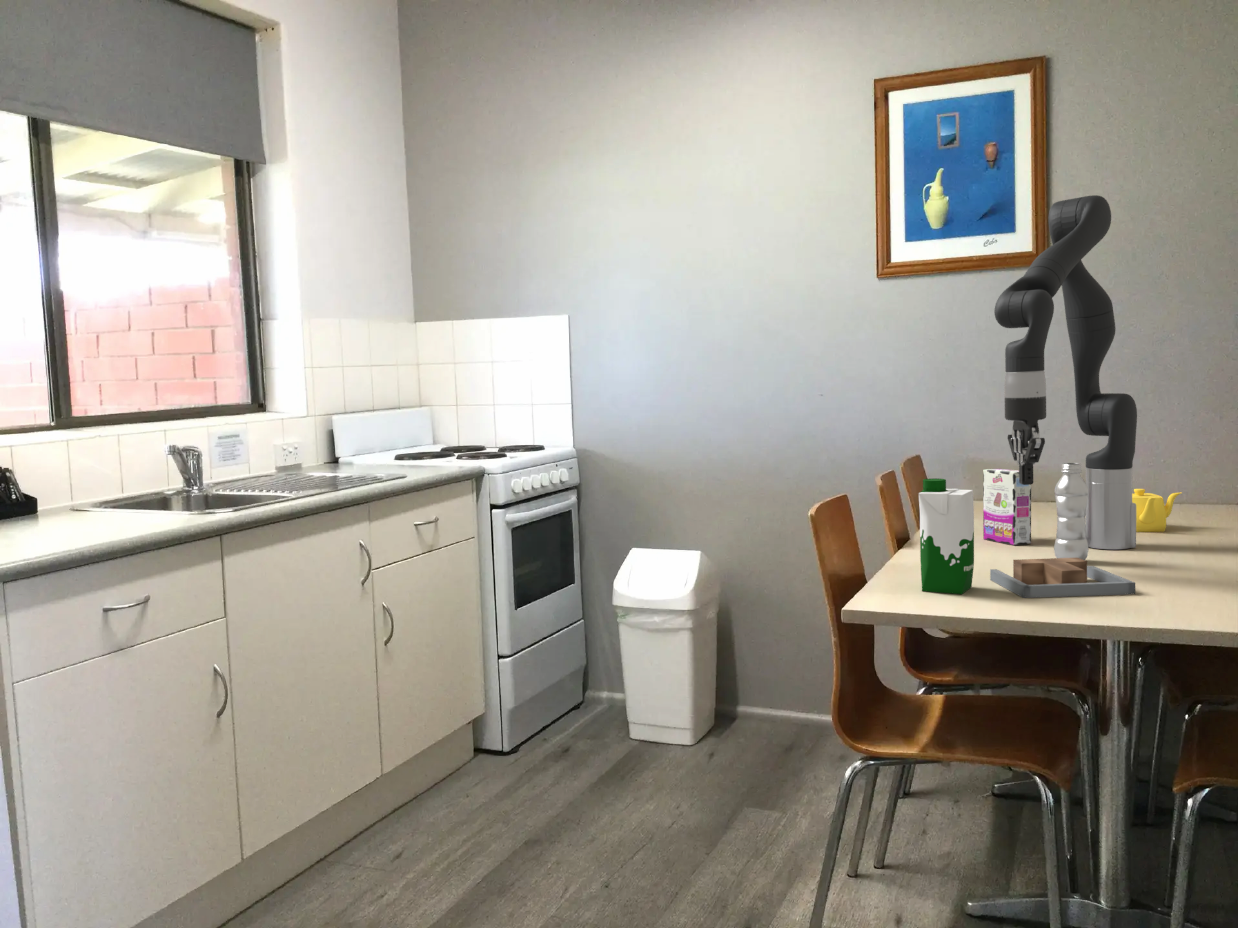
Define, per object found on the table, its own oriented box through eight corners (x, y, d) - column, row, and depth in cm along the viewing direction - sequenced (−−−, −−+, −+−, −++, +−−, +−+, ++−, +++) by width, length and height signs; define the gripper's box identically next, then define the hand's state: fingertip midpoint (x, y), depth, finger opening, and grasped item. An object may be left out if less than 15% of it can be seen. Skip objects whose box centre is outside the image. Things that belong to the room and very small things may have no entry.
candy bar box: (1032, 544, 237) (1032, 471, 236) (1014, 546, 236) (1013, 472, 234) (1000, 537, 248) (1000, 467, 246) (982, 539, 246) (981, 468, 245)
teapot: (1153, 535, 244) (1154, 493, 243) (1095, 529, 255) (1095, 489, 254) (1184, 528, 252) (1184, 488, 252) (1126, 523, 264) (1126, 484, 263)
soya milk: (929, 582, 199) (928, 476, 197) (978, 586, 194) (978, 477, 192) (915, 591, 192) (914, 481, 190) (966, 595, 187) (965, 483, 185)
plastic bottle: (1087, 559, 217) (1087, 462, 215) (1090, 565, 211) (1090, 465, 209) (1053, 558, 219) (1053, 462, 217) (1054, 564, 213) (1055, 465, 211)
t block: (1077, 578, 198) (1077, 557, 198) (1107, 591, 187) (1107, 569, 186) (1013, 580, 198) (1013, 559, 198) (1038, 593, 187) (1038, 571, 186)
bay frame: (1093, 576, 200) (1093, 565, 200) (1135, 594, 184) (1135, 582, 184) (990, 579, 200) (990, 569, 200) (1023, 597, 184) (1023, 586, 183)
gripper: (1059, 395, 198) (1060, 487, 200) (1030, 393, 211) (1031, 479, 213) (1019, 397, 198) (1020, 489, 200) (993, 395, 211) (994, 481, 213)
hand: (1026, 484), depth 206 cm, fingers closed
